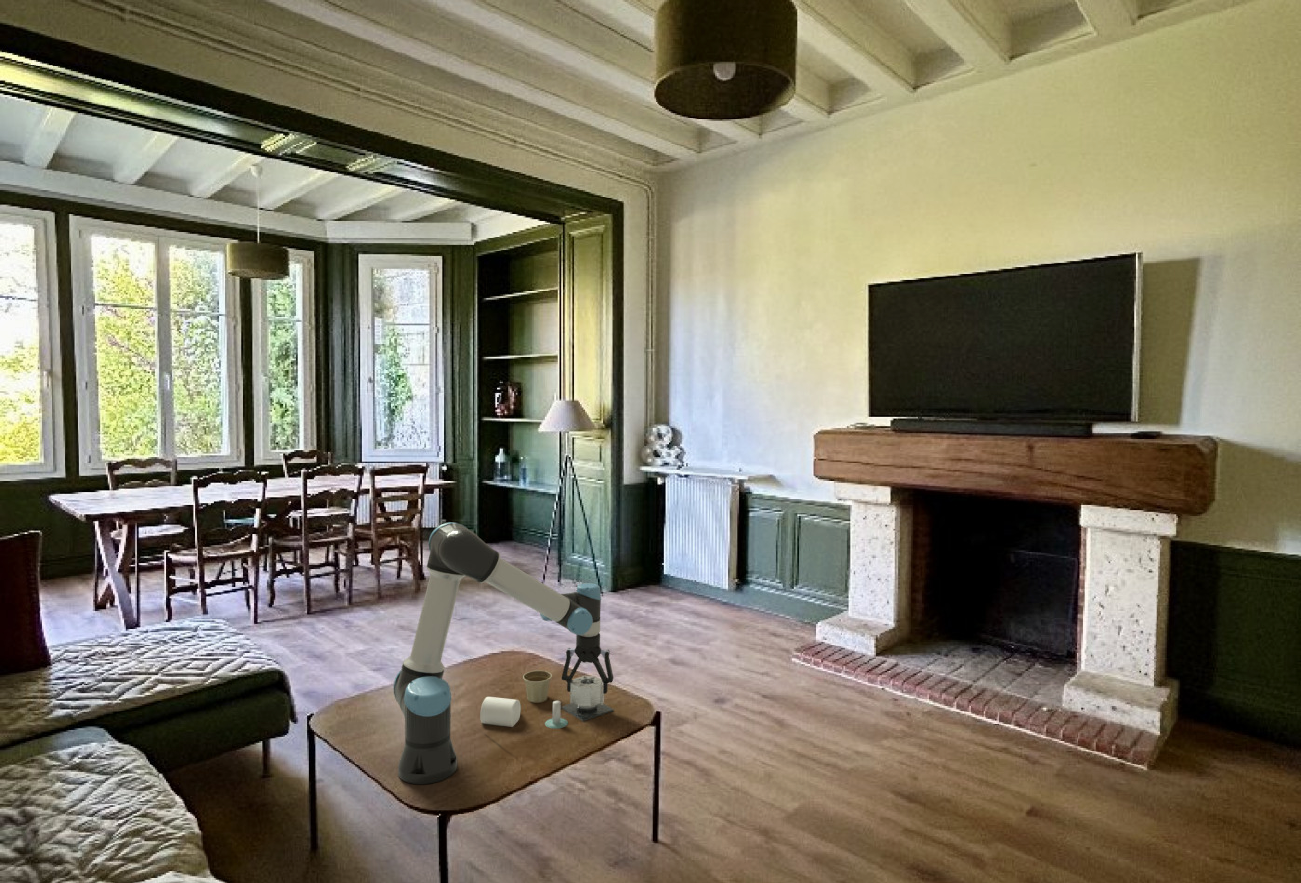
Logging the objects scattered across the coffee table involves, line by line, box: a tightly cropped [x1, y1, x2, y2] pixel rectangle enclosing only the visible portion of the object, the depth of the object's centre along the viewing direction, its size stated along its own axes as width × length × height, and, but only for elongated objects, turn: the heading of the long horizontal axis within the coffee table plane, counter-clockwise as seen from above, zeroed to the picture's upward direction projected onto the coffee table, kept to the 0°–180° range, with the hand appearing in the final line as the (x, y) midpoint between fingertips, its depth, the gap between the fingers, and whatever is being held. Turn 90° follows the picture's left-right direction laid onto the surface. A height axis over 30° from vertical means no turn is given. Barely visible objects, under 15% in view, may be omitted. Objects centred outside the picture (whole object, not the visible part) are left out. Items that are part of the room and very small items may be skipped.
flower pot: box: [522, 670, 553, 703], centre depth 238 cm, size 9×9×9 cm
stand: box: [544, 700, 569, 730], centre depth 221 cm, size 7×7×8 cm
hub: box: [561, 682, 615, 722], centre depth 231 cm, size 12×12×9 cm
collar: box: [572, 675, 602, 706], centre depth 230 cm, size 9×9×6 cm
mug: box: [479, 696, 522, 728], centre depth 223 cm, size 12×10×8 cm
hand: (587, 702), depth 231 cm, fingers closed on collar, 9 cm apart
